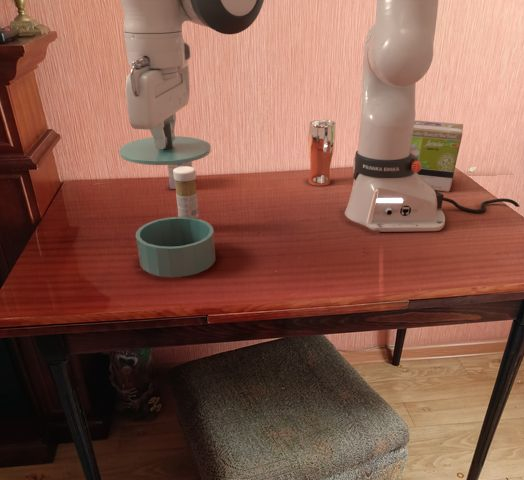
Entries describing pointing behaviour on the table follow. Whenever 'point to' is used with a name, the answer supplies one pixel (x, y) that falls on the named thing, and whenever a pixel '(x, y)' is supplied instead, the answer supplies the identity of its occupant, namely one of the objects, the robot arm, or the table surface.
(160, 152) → the pan lid
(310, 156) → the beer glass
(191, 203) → the sprinkles bottle
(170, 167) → the medicine box
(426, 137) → the tea box
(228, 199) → the table surface
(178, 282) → the table surface
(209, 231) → the pan
